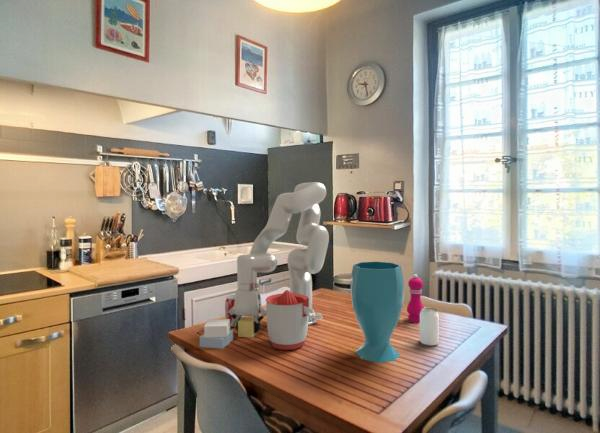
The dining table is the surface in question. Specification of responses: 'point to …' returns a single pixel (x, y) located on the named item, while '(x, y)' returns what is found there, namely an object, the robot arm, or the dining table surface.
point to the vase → (377, 307)
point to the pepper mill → (415, 299)
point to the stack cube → (246, 327)
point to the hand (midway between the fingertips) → (248, 331)
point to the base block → (216, 341)
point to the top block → (217, 328)
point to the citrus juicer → (287, 319)
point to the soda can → (228, 305)
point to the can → (429, 326)
